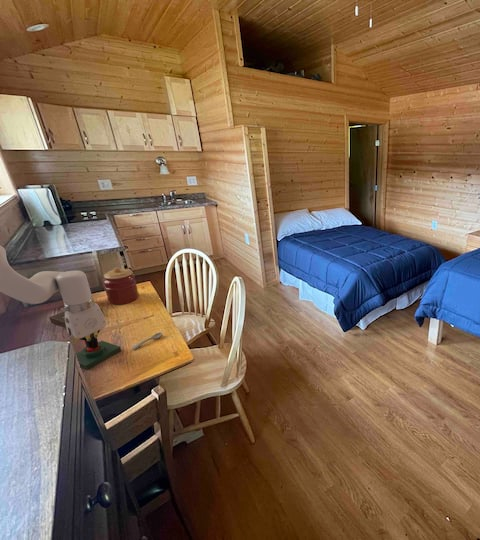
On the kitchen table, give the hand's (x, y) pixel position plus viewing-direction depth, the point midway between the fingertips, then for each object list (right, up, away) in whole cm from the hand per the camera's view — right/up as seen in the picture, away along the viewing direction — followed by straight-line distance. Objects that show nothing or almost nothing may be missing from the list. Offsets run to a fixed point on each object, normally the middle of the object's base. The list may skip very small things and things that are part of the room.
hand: (93, 347), depth 113 cm
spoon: (+12, -1, +12) cm, 17 cm away
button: (0, -2, +1) cm, 2 cm away
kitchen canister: (-22, +14, +42) cm, 50 cm away
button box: (0, -4, +2) cm, 5 cm away
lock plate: (-28, +7, +24) cm, 37 cm away
